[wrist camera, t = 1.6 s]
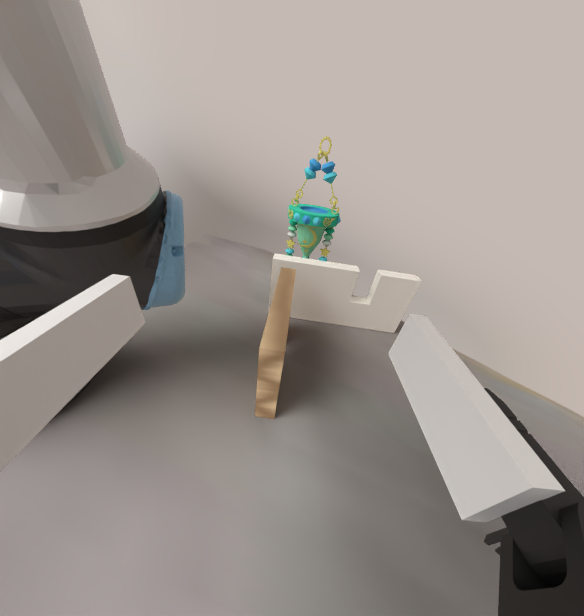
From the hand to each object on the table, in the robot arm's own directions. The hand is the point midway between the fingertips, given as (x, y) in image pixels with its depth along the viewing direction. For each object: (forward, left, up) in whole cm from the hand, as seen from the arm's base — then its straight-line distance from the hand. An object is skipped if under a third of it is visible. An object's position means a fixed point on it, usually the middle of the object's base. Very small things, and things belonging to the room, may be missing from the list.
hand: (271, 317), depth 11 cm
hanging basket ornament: (+3, +37, -20) cm, 42 cm away
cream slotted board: (+10, +28, -20) cm, 35 cm away
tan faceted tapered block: (0, +15, -20) cm, 25 cm away
